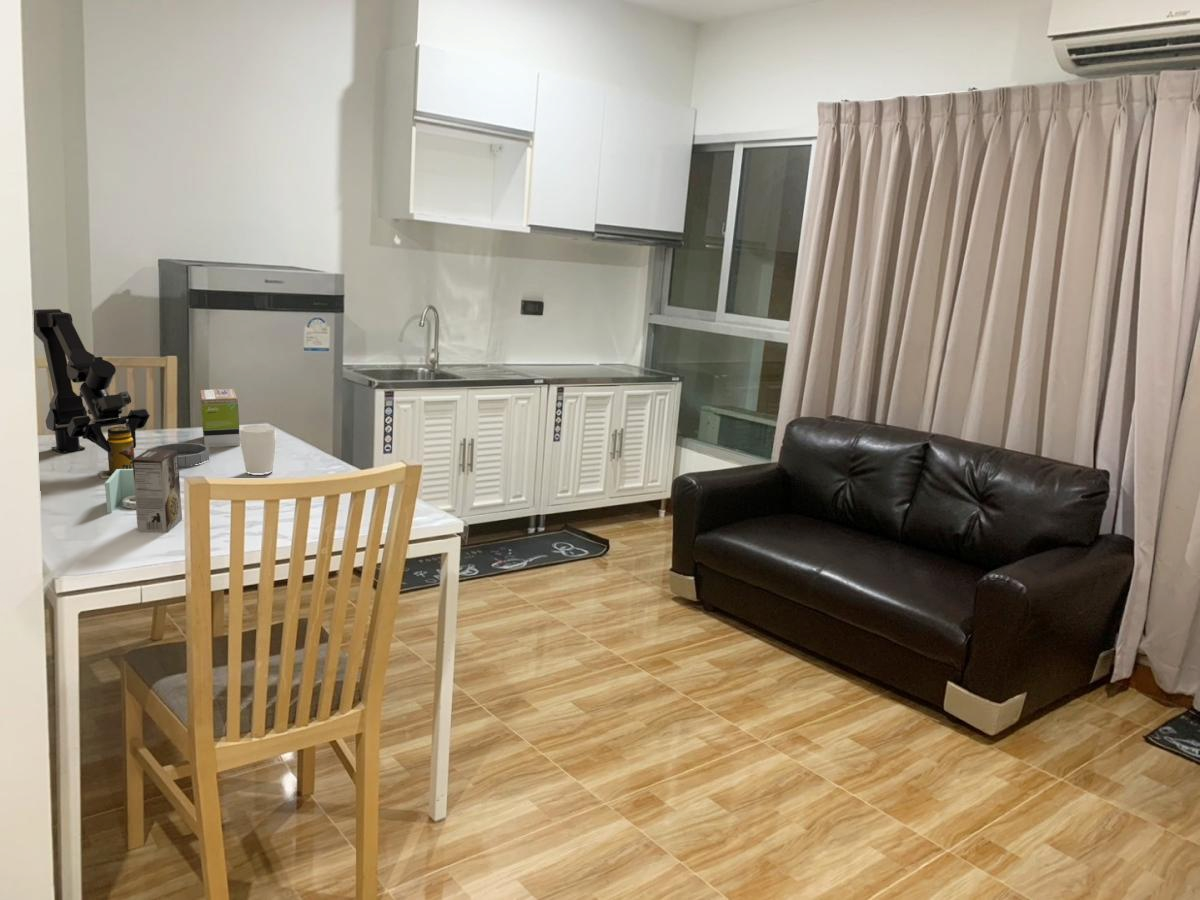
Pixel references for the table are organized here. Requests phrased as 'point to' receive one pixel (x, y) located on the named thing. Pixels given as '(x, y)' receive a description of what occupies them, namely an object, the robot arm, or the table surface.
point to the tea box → (220, 418)
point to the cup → (258, 447)
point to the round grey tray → (187, 452)
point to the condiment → (119, 450)
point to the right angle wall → (120, 489)
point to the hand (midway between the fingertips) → (122, 449)
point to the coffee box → (157, 490)
